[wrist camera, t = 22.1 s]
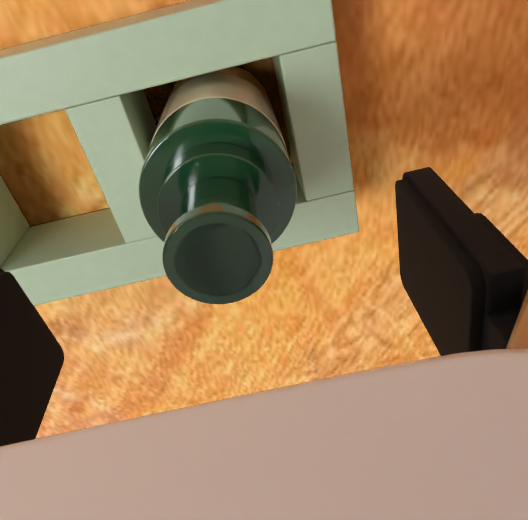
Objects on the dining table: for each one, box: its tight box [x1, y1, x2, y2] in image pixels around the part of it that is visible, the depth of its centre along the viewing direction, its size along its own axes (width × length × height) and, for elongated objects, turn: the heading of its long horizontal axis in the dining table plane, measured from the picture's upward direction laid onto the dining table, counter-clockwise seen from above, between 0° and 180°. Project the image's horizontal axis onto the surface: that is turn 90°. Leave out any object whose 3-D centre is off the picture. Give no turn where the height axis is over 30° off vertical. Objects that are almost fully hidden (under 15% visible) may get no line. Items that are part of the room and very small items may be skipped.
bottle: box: [139, 66, 297, 304], centre depth 17 cm, size 5×5×13 cm
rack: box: [0, 0, 359, 306], centre depth 21 cm, size 11×19×4 cm, turn 102°
